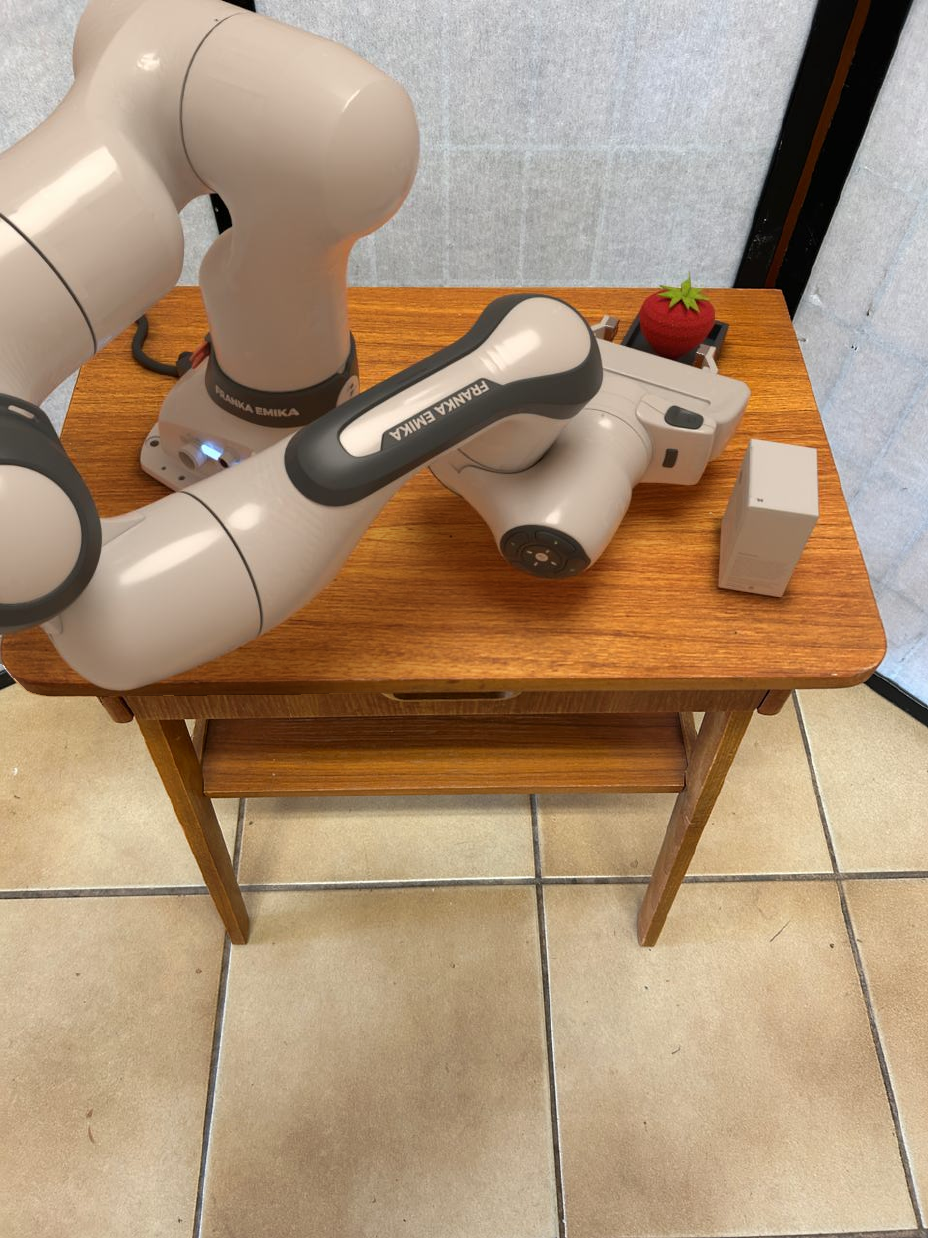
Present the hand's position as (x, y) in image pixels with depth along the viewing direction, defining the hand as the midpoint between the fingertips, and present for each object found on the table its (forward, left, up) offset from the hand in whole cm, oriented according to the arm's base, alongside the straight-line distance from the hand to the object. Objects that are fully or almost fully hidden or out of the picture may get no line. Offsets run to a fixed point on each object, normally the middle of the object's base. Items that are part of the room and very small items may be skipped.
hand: (659, 336), depth 90 cm
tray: (0, +7, -8) cm, 10 cm away
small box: (+15, -15, -8) cm, 23 cm away
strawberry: (0, +6, -7) cm, 9 cm away
